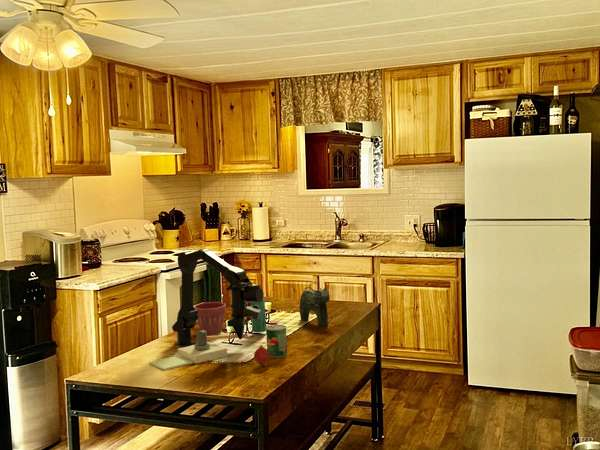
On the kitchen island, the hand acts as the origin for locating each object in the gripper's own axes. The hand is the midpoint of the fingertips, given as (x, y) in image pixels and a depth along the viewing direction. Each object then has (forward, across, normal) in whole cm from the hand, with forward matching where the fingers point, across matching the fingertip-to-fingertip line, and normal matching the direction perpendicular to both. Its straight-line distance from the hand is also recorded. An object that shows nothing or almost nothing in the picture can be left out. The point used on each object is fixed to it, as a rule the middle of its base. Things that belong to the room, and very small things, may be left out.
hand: (240, 339), depth 265 cm
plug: (+5, -8, +14) cm, 17 cm away
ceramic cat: (+4, +46, -25) cm, 53 cm away
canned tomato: (+5, -6, -16) cm, 18 cm away
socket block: (+5, -8, +14) cm, 17 cm away
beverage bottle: (+4, +26, -3) cm, 27 cm away
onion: (+5, -21, -12) cm, 25 cm away
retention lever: (0, 0, +7) cm, 7 cm away
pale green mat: (+5, -18, +24) cm, 30 cm away
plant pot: (+4, +29, +20) cm, 35 cm away
